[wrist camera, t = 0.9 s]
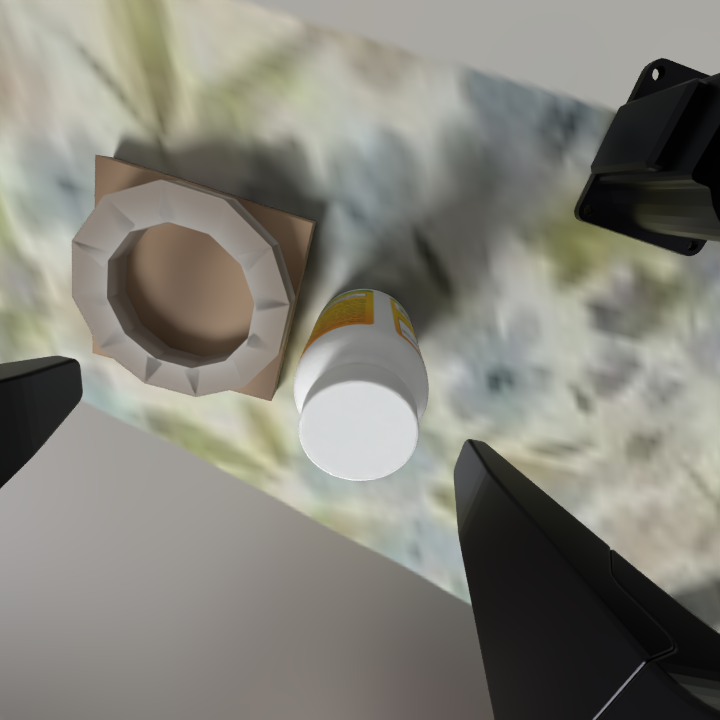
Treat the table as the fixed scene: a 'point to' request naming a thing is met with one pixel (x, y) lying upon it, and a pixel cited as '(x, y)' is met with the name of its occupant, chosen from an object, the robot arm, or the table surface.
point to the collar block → (188, 281)
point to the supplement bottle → (361, 387)
